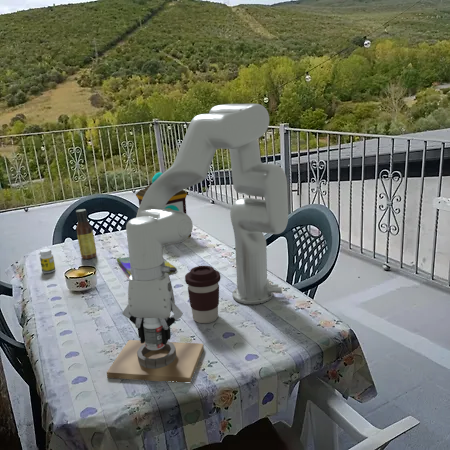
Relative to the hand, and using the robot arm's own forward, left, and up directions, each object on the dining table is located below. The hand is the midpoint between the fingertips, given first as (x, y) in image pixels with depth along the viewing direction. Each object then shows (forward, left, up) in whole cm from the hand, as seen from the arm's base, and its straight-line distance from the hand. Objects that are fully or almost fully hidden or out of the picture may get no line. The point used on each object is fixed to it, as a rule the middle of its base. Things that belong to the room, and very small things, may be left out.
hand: (155, 340), depth 107 cm
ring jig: (0, 0, -6) cm, 6 cm away
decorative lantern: (+27, -94, -6) cm, 98 cm away
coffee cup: (-7, -23, -6) cm, 25 cm away
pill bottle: (0, 0, -2) cm, 2 cm away
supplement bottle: (+61, -54, -6) cm, 82 cm away
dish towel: (+24, -60, -7) cm, 65 cm away
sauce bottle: (+52, -69, -6) cm, 87 cm away
